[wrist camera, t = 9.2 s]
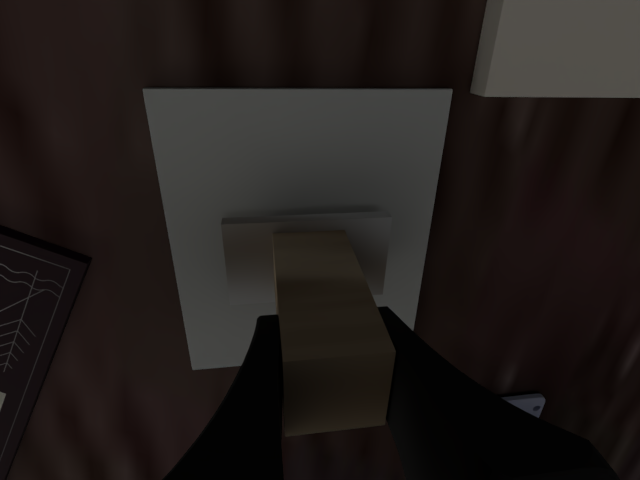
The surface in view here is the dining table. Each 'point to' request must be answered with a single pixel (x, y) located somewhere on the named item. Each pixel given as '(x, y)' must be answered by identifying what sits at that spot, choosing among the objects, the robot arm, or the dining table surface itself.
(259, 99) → the mat
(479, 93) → the tile
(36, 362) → the chocolate bar
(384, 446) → the dining table surface
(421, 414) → the robot arm
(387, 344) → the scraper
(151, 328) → the dining table surface
